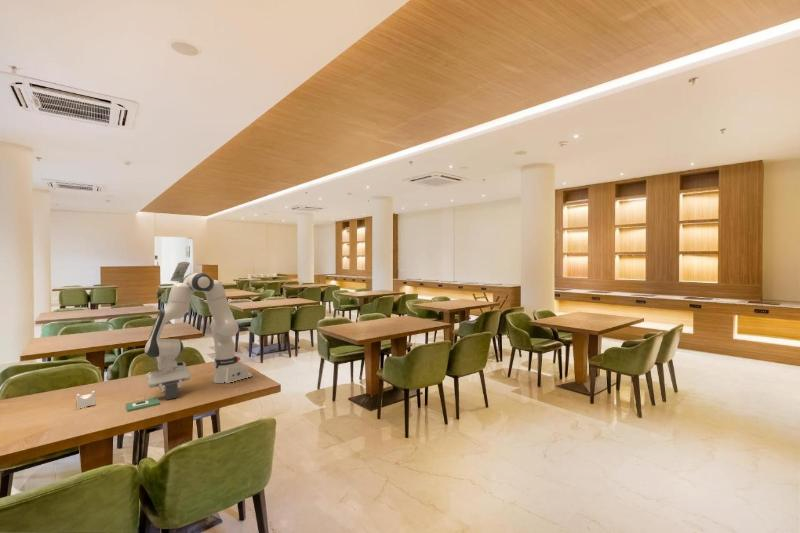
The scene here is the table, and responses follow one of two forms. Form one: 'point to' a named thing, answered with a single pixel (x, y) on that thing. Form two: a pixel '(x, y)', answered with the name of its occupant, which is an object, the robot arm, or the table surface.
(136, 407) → the header board
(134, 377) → the table surface
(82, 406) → the bracket
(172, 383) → the block
